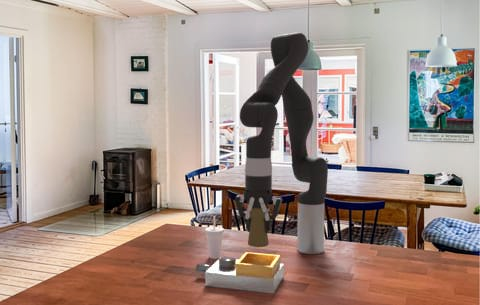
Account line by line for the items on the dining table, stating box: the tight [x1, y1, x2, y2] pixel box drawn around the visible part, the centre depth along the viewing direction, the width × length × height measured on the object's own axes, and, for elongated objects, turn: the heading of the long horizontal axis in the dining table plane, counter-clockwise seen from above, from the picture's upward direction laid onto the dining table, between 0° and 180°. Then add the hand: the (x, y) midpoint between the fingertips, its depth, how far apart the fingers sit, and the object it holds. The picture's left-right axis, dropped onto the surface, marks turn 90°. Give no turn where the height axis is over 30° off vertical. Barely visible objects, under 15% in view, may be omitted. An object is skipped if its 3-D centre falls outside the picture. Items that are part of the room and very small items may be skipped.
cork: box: [247, 207, 270, 248], centre depth 139 cm, size 6×6×11 cm
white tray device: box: [195, 251, 284, 294], centre depth 142 cm, size 13×25×7 cm, turn 73°
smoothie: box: [204, 215, 225, 260], centre depth 163 cm, size 6×6×14 cm
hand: (258, 231), depth 139 cm, fingers closed on cork, 4 cm apart
